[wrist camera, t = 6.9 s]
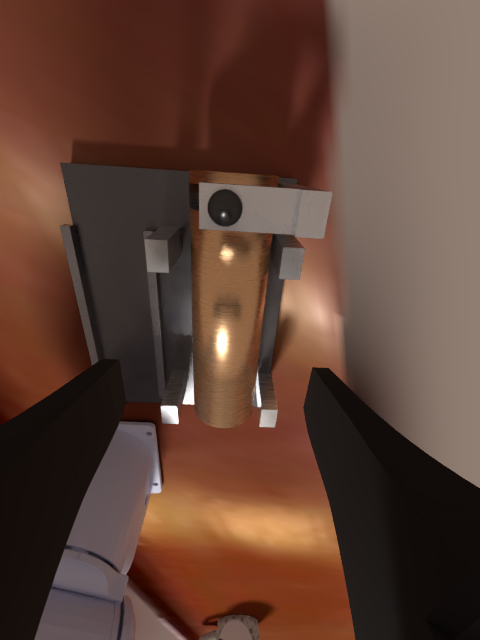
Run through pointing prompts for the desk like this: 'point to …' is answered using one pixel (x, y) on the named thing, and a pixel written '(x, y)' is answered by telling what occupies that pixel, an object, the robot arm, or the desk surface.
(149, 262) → the small blocks
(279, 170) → the desk surface
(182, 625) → the desk surface
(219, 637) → the mug
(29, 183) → the desk surface
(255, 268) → the tube
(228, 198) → the aperture bracket
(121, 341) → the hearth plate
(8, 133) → the desk surface
